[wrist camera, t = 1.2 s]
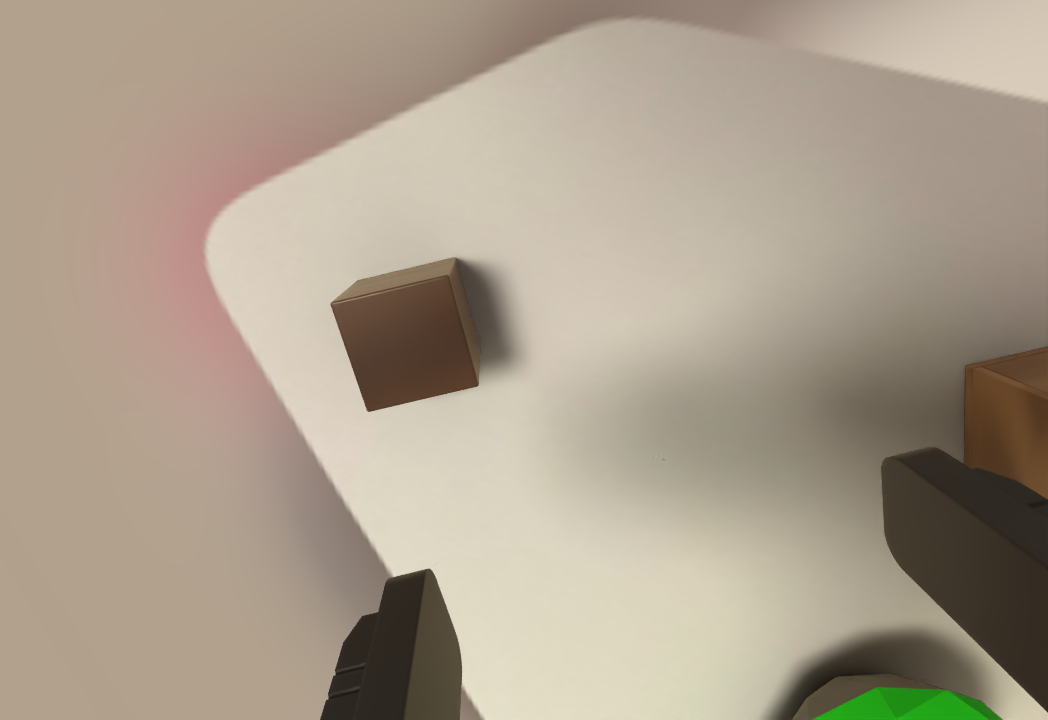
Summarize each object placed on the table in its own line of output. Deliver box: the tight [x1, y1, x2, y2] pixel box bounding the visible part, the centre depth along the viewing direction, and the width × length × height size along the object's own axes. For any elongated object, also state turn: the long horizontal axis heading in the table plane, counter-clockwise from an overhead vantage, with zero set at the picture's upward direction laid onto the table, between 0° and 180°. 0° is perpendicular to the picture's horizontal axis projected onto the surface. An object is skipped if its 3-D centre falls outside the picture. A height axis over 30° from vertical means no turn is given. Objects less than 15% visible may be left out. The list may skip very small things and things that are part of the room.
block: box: [331, 258, 481, 412], centre depth 22 cm, size 4×4×4 cm
